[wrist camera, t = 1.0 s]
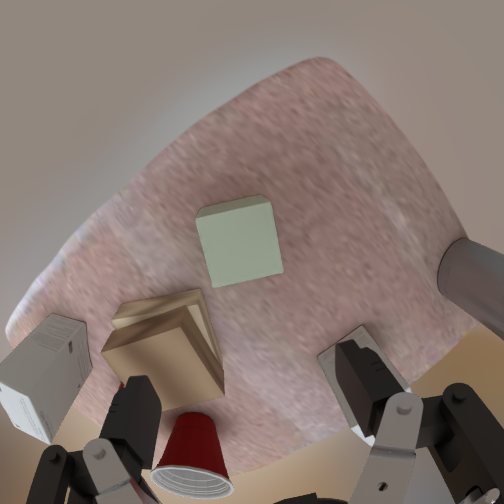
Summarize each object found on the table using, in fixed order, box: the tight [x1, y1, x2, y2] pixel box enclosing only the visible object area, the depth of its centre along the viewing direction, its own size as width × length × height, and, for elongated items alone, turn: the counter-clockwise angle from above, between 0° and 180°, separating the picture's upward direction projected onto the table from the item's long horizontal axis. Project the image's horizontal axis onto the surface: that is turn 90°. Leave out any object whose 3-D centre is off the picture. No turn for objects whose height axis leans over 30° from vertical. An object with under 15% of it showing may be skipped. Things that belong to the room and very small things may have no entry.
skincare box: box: [0, 313, 92, 445], centre depth 23 cm, size 8×6×15 cm
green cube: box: [195, 195, 284, 288], centre depth 25 cm, size 6×6×6 cm
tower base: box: [111, 289, 223, 368], centre depth 29 cm, size 10×10×4 cm
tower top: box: [100, 305, 225, 411], centre depth 25 cm, size 9×9×4 cm
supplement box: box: [317, 325, 413, 446], centre depth 28 cm, size 7×7×13 cm
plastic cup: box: [150, 412, 234, 499], centre depth 30 cm, size 11×11×12 cm
